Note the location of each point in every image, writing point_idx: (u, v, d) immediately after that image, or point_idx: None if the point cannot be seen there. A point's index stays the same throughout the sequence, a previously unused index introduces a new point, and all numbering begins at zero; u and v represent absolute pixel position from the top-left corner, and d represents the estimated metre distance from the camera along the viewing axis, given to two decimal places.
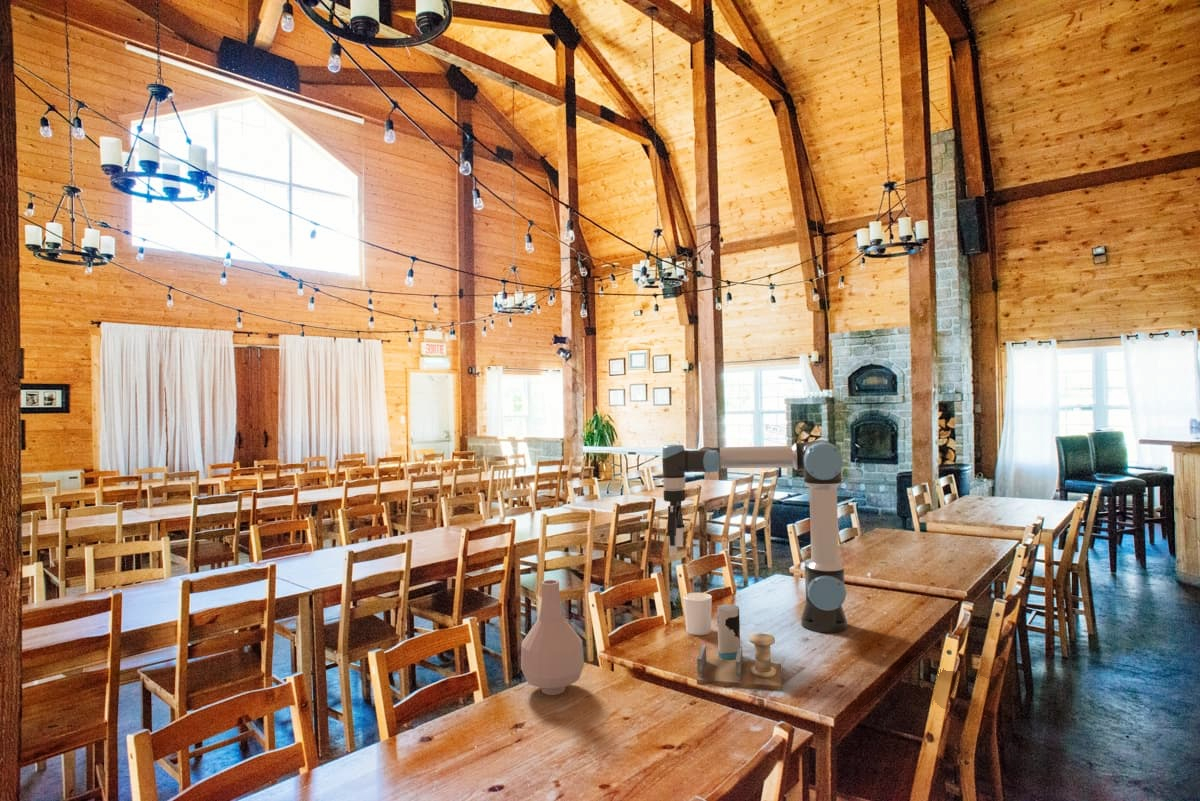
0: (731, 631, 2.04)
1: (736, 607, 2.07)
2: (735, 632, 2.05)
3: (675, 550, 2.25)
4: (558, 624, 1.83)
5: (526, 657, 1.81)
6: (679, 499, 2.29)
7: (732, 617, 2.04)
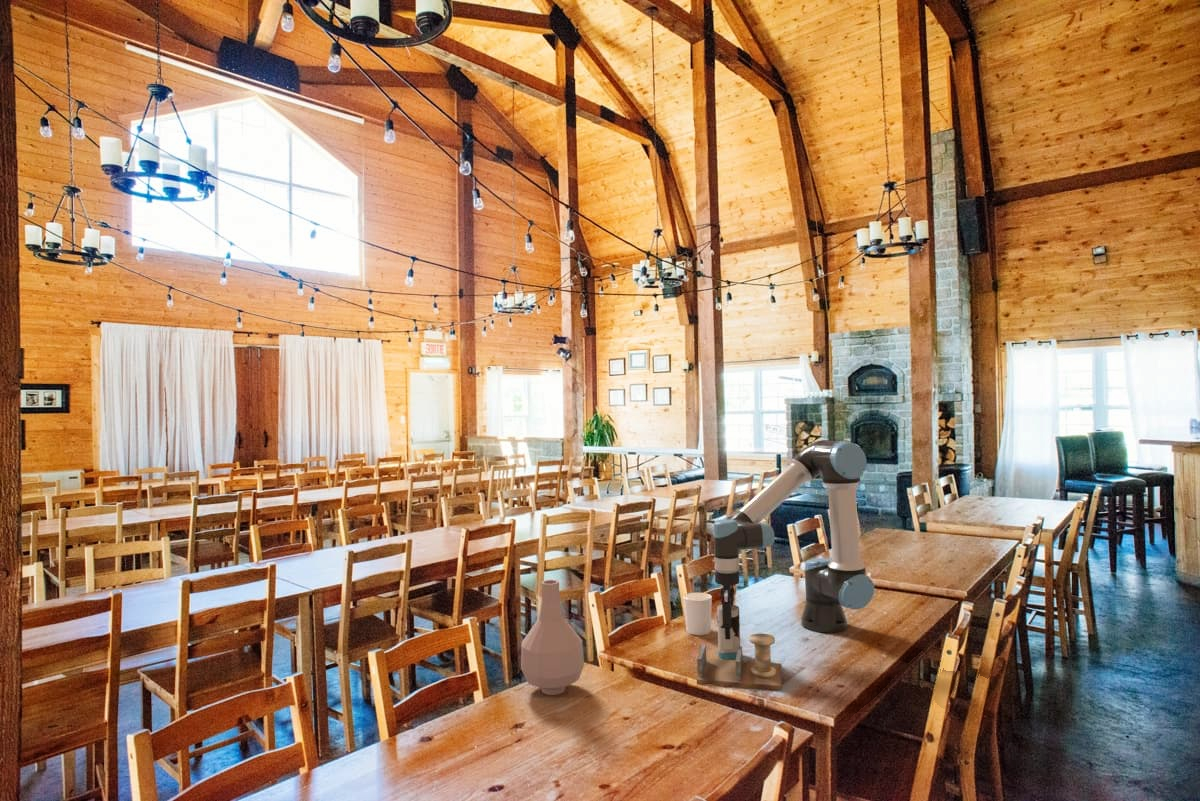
0: None
1: (736, 607, 2.07)
2: (735, 631, 2.05)
3: (731, 644, 2.03)
4: (558, 624, 1.83)
5: (526, 657, 1.81)
6: (733, 583, 2.04)
7: (732, 617, 2.04)
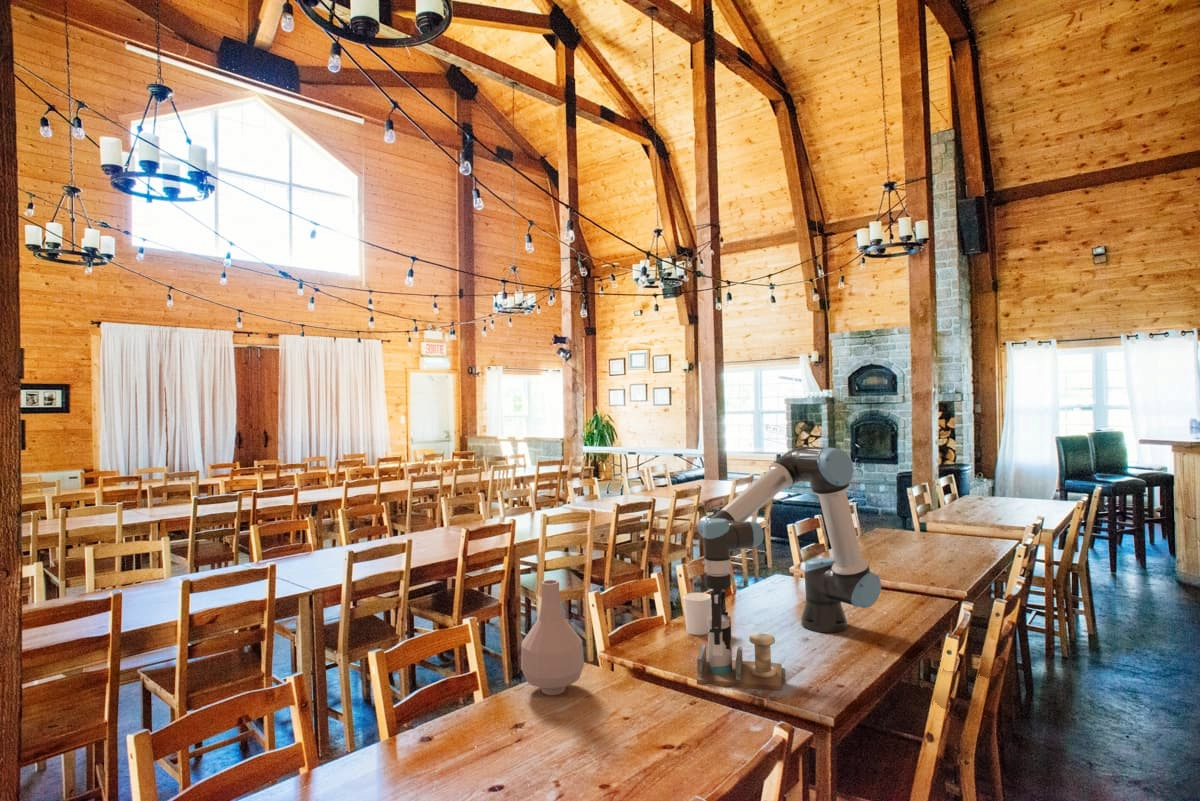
0: None
1: (728, 618, 1.94)
2: (726, 644, 1.91)
3: (720, 650, 1.87)
4: (558, 624, 1.83)
5: (526, 657, 1.81)
6: (724, 586, 1.91)
7: (723, 629, 1.91)
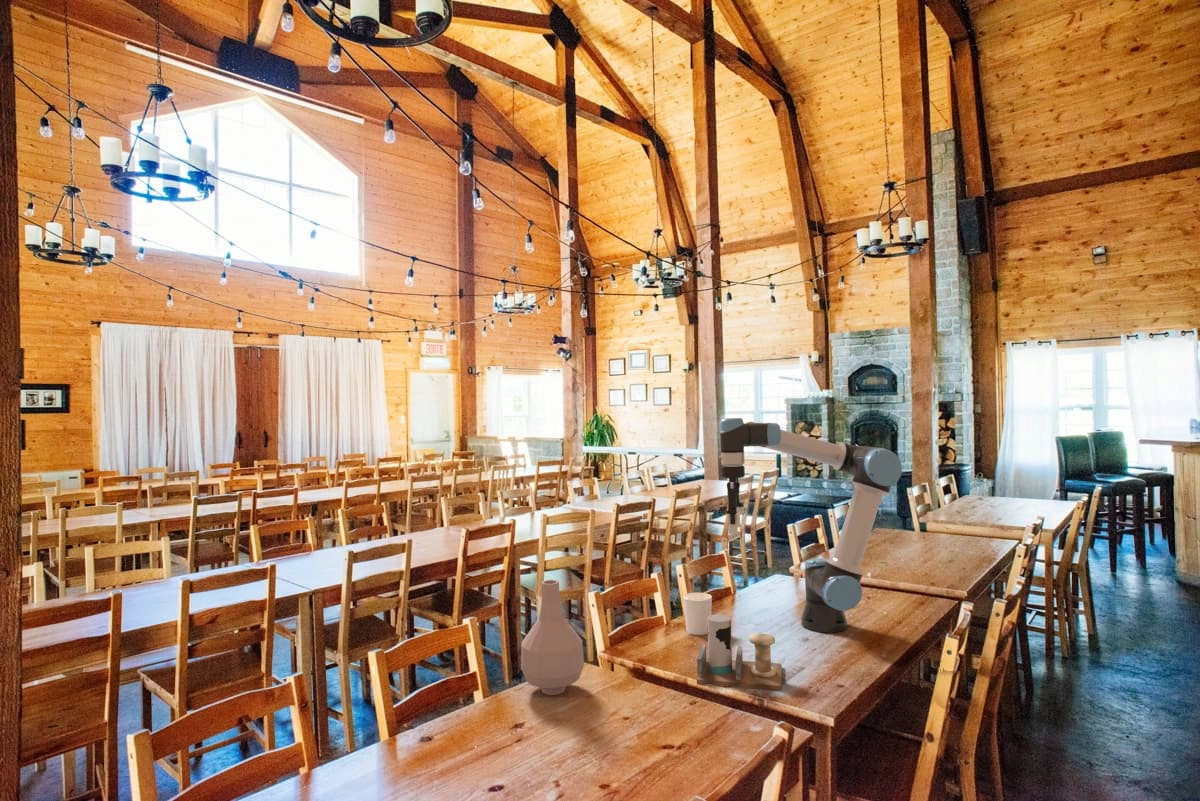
0: (722, 643, 1.91)
1: (728, 618, 1.94)
2: (726, 644, 1.91)
3: (736, 529, 2.12)
4: (558, 624, 1.83)
5: (526, 657, 1.81)
6: (739, 475, 2.16)
7: (723, 629, 1.91)
